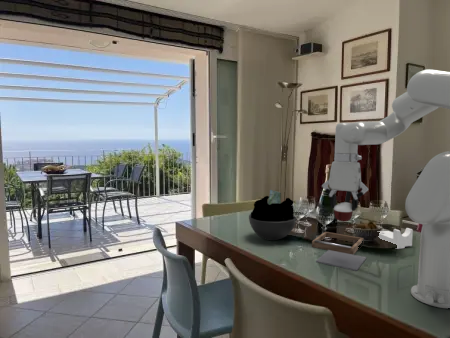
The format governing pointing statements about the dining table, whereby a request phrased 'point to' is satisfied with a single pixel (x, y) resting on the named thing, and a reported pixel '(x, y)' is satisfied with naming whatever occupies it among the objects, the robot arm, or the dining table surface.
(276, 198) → the pale blue faceted lump
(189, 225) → the dining table surface
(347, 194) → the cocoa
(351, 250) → the tray
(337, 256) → the rubber mat
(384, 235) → the bracket
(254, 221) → the bowl of black rocks
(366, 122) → the robot arm
